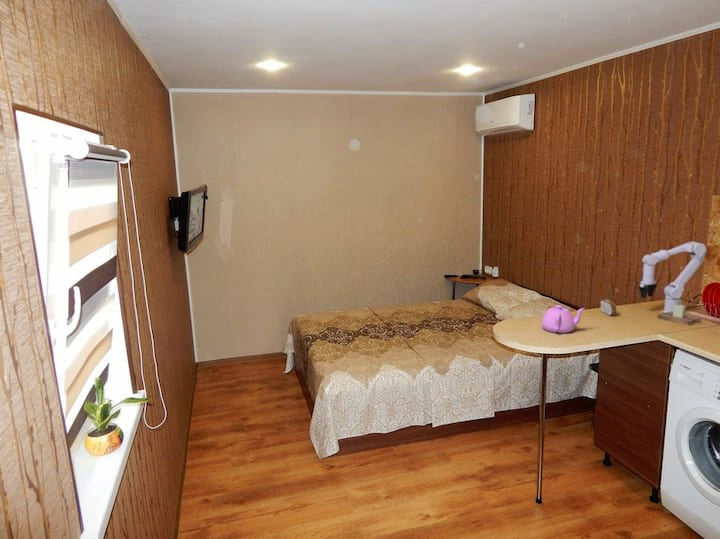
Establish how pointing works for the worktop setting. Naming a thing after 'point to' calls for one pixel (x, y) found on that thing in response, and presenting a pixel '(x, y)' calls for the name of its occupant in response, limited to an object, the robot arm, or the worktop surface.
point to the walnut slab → (685, 320)
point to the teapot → (560, 319)
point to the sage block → (679, 311)
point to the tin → (608, 307)
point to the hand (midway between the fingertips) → (646, 297)
